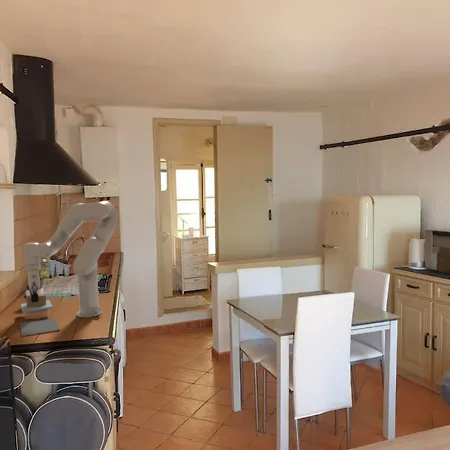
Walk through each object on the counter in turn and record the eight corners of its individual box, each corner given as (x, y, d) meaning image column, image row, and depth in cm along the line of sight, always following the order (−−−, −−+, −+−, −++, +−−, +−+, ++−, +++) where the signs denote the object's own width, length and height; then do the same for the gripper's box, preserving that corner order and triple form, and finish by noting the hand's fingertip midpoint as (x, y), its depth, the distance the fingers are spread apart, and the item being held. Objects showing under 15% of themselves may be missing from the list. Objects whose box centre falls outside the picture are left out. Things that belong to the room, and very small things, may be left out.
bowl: (54, 315, 234) (53, 305, 234) (33, 321, 224) (32, 311, 224) (40, 311, 241) (39, 302, 240) (19, 317, 231) (18, 308, 231)
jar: (23, 306, 251) (22, 285, 249) (34, 302, 258) (33, 281, 257) (36, 307, 247) (34, 286, 246) (47, 303, 255) (45, 283, 254)
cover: (52, 308, 229) (51, 296, 228) (22, 312, 223) (21, 300, 222) (49, 301, 242) (48, 290, 241) (20, 305, 235) (20, 294, 235)
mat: (59, 330, 209) (59, 329, 209) (21, 336, 202) (21, 335, 202) (54, 319, 227) (54, 317, 227) (19, 324, 220) (19, 323, 220)
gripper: (42, 269, 224) (43, 303, 225) (39, 263, 239) (40, 294, 241) (25, 270, 220) (27, 304, 222) (23, 264, 236) (25, 296, 238)
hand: (34, 299), depth 232 cm, fingers open, 9 cm apart
